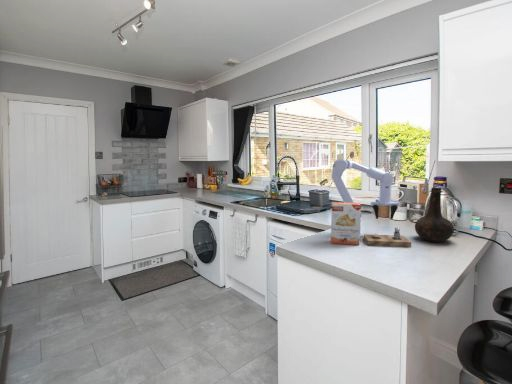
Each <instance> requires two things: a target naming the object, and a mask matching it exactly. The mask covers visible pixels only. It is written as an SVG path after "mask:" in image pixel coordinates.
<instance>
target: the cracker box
mask: <svg viewBox="0 0 512 384" xmlns="http://www.w3.org/2000/svg"><path fill="white" fill-rule="evenodd" d="M361 214H362V205H361V202H354V203H344V202H338V201H337V202H336V201H332V202H331V219H330V220H331V221H330V223H331V224H330V244H339V245H349V246H350V245H351V246H352V245H354V246H360V238H361V237H360V234H361V229H360V219H361V218H360V216H361ZM361 217H362V216H361Z"/></svg>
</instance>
